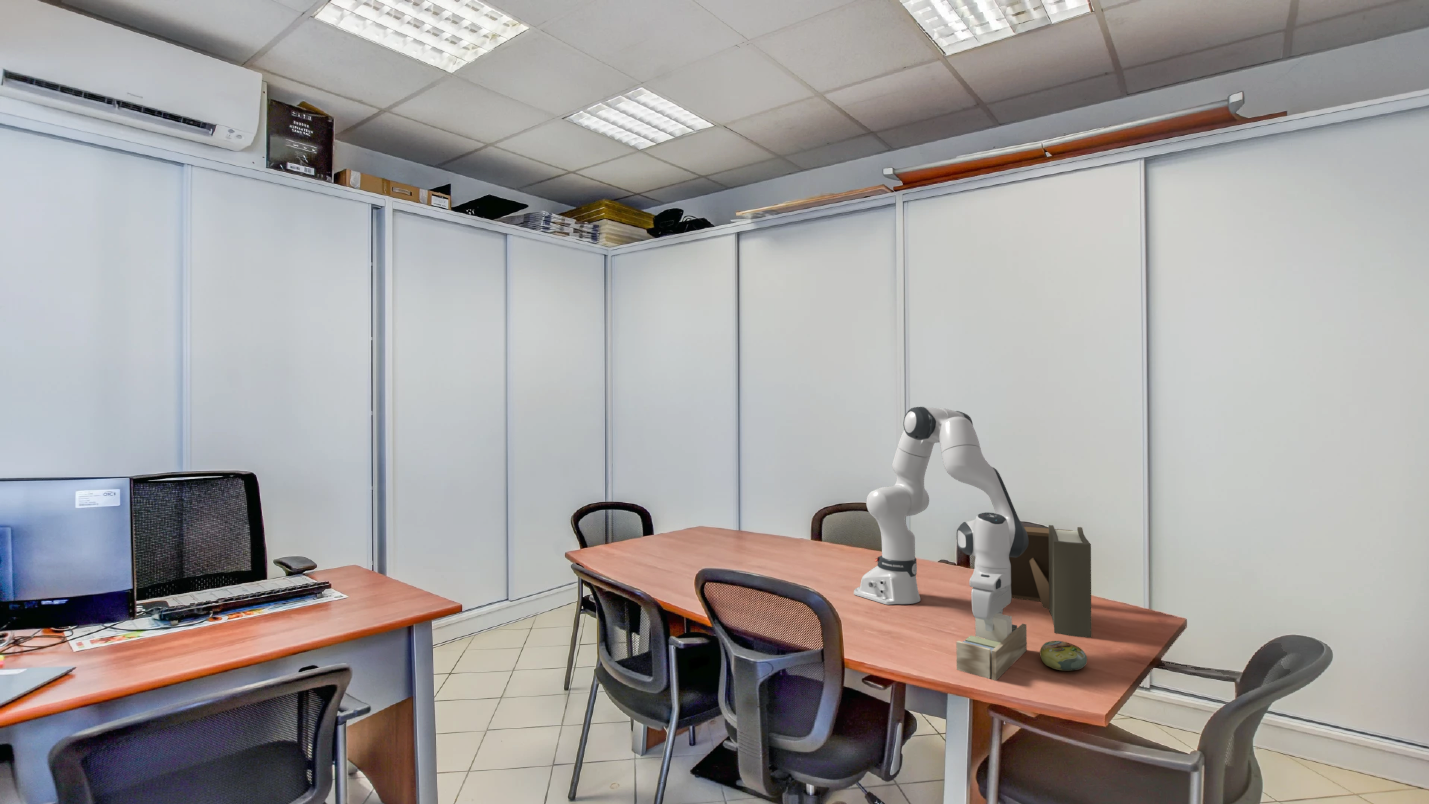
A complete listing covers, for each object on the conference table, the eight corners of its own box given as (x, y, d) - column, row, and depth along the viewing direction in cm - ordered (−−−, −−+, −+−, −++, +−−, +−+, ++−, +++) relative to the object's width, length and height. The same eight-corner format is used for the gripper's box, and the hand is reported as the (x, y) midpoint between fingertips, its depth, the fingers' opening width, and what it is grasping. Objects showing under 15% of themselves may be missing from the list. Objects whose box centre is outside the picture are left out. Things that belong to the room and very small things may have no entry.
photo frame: (1001, 593, 219) (1001, 522, 220) (1072, 602, 209) (1071, 527, 210) (999, 604, 206) (998, 528, 207) (1074, 614, 196) (1074, 534, 197)
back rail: (956, 669, 156) (956, 641, 157) (990, 641, 175) (990, 616, 175) (996, 680, 150) (995, 651, 150) (1026, 650, 169) (1026, 624, 169)
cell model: (1033, 661, 156) (1039, 624, 167) (1042, 685, 157) (1047, 647, 169) (1080, 662, 150) (1083, 624, 161) (1089, 688, 151) (1091, 648, 162)
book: (1091, 640, 177) (1091, 542, 176) (1054, 635, 181) (1053, 540, 180) (1082, 615, 196) (1082, 527, 196) (1049, 611, 200) (1048, 525, 200)
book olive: (965, 662, 161) (965, 639, 161) (971, 658, 164) (970, 635, 164) (997, 671, 156) (997, 647, 156) (1002, 666, 159) (1002, 642, 159)
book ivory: (975, 636, 166) (975, 613, 166) (980, 632, 169) (980, 610, 169) (1007, 643, 160) (1006, 620, 160) (1012, 639, 163) (1011, 616, 163)
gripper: (993, 566, 175) (993, 615, 174) (966, 581, 159) (967, 635, 159) (1017, 569, 170) (1017, 620, 170) (992, 586, 155) (993, 641, 155)
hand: (993, 627), depth 165 cm, fingers closed on book ivory, 4 cm apart
